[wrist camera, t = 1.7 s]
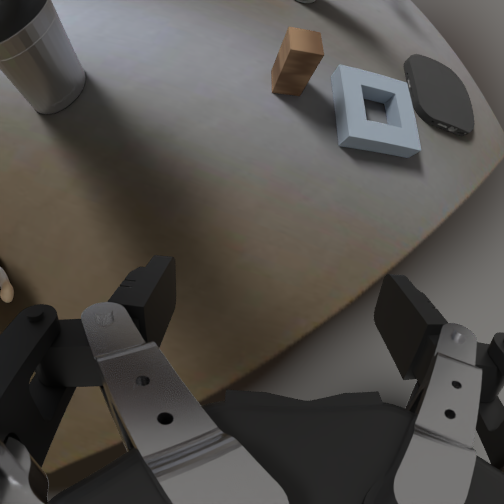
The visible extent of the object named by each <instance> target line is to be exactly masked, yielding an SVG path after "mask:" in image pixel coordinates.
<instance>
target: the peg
mask: <svg viewBox="0 0 504 504" xmlns="http://www.w3.org/2000/svg"><path fill="white" fill-rule="evenodd" d="M323 56H324V52H323V45H322V39H321V33H320V32H315V31H310V30H305V29H299V28H293V27H288V30H287V32H286V35H285V37H284V40H283V42H282V45H281V47H280V50H279V53H278V55H277V58H276V60H275V63H274V66H273V68H272V71H271V75H272V93H278V94H287V95H294V96H300V95H301V93H302V92H303V90H304V88H305V86H306V85H307V83H308V81H309V80H310V78H311V76H312V75H313V73H314V71H315V69H316V68H317V66H318V64H319V63H320V61H321V59H322V58H323Z"/></svg>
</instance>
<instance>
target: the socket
mask: <svg viewBox="0 0 504 504" xmlns="http://www.w3.org/2000/svg"><path fill="white" fill-rule="evenodd" d="M331 82H332V90H333V98H334V107H335V116H336V125H337V136H338V146H342V147H349V148H355V149H361V150H367V151H373V152H379V153H384V154H390V155H395V156H400V157H405V158H409V157H411V156H413V155H414V154H416V153H418V152H420V151H421V147H420V141H419V135H418V130H417V125H416V119H415V115H414V110H413V105H412V101H411V97H410V92H409V88H408V84H407V83H406V82H403V81H400V80H396V79H393V78H390V77H386V76H383V75H380V74H376V73H372V72H369V71H365V70H361V69H357V68H353V67H349V66H345V65H340V64H339V66H338V67H337V68H336V70H335V71H334V73H333V74H332V76H331ZM363 99H367V100H371V101H375V102H379V103H383V104H384V105H385V111H386V116H387V122H388V125H387V124H383V123H379V122H374V121H369V120H367V119H366V112H365V106H364V100H363Z"/></svg>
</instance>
